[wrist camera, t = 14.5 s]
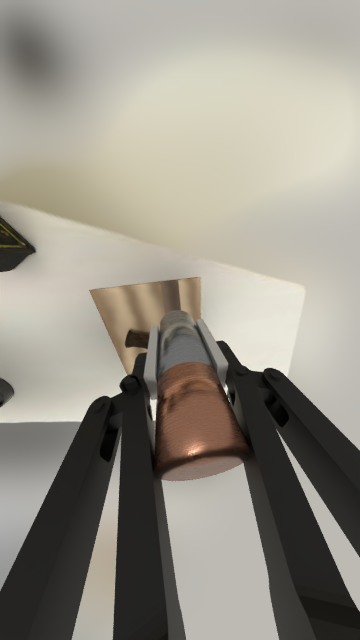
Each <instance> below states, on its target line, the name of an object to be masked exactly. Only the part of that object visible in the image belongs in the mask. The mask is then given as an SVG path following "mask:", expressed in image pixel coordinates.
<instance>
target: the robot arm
mask: <svg viewBox="0 0 360 640" xmlns="http://www.w3.org/2000/svg"><path fill="white" fill-rule="evenodd" d="M196 327H197V329H198V331H199V334H200V336H201V338H202V341H203V343H204V345H205V347H206V350H207V352H208V354H209V357H210V359H211V361H212V363H213V366H214V368H215V370H216V372H217V375H218V377H219V379H220V382H221V384H222V386H223V387H225V384H226V385H227V387H228V392H227V398H229V400H230V404H231V407H232V409H233V411H234V414H235V416H236V418H237V420H238V423H239V425H240V427H241V430H242V432H243V434H244V436H245V439H246V441H247V443H248V446H249V448H250V450H251V451H250V453H249V455H248V457H247V459H246V461H245V462H243V463H244V467H245V471H246V476H247V480H248V485H249V489H250V494H251V498H252V503H253V507H254V512H255V516H256V521H257V525H258V530H259V534H260V538H261V543H262V547H263V552H264V556H265V561H266V565H267V570H268V575H269V589H270V596H271V602H272V607H273V612H274V617H275V622H276V626H277V631H278V636H279V640H360V611H359V610H358V609H357V607H356V605H355V603H354V602H353V600H352V598H351V597H350V594H349V592H348V590H347V588H346V586H345V584H344V582H343V579H342V577H341V575H340V572H339V570H338V568H337V566H336V563H335V561H334V559H333V557H332V554H331V552H330V550H329V548H328V545H327V543H326V541H325V539H324V537H323V534H322V532H321V530H320V527H319V525H318V523H317V520H316V518H315V516H314V514H313V511H312V509H311V507H310V505H309V503H308V500H307V498H306V496H305V493H304V491H303V489H302V487H301V484H300V482H299V480H298V478H297V475H296V473H295V471H294V469H293V466H292V464H291V462H290V460H289V457H288V455H287V453H286V451H285V448H284V446H283V444H282V442H281V439H280V437H279V435H278V433H277V431H278V432H279V434H280V435H281V437H282V438H283V440H284V441H285V443H286V444H287V446H288V447H289V449H290V450H291V452H292V454H293V455H294V457H295V458H296V460H297V461H298V463H299V464H300V466H301V468H302V469H303V471H304V472H305V474H306V475H307V477H308V478H309V480H310V481H311V483H312V485H313V486H314V488H315V489H316V491H317V492H318V494H319V495H320V497H321V498H322V500H323V501H324V503H325V504H326V506H327V508H328V509H329V511H330V512H331V514H332V515H333V517H334V518H335V520H336V521H337V523H338V524H339V526H340V528H341V529H342V531H343V532H344V534H345V535H346V537H347V538H348V540H349V541H350V543H351V544H352V546H353V548H354V549H355V551H356V552H357V554H358V555H359V557H360V451H359V450H358V449H357V448H356V446H355V445H354V444H352V442H350V440H348V438H346V437H345V435H344V434H343V433H342V432H340V430H339V429H338V428H337V427H336V426H335V425H334V424H333V423H332V422H331V421H330V420H329V419H328V418H327V417H326V416H325V415H324V414H323V413H322V412H321V411H320V410H319V409H318V408H317V407H316V406H315V405H313V403H312V402H311V401H310V400H309V399H308V398H307V397H306V396H305V395H303V393H302V392H301V391H300V390H299V389H298V388H297V387H296V386H295V385H294V384H293V383H292V382H291V381H290V380H289V379H288V378H287V377H286V376H285V375H284V374H283V373H282V372H280V371H278V370H276V369H273V368H267V369H265V370H264V371H263V372H257V371H251V370H249V369H248V368H247V367H245V366H243V365H241V363H240V362H239V361H238V359H237V358H236V356H235V355H234V353H233V352H232V350H231V349H230V347H229V346H228V344H227V343H225V342H224V341H215V339H214V338H213V336H212V334H211V333H210V331H209V329H208V327H207V326H206V324H205V322H204V320H203V319H198V320H196ZM158 355H159V328H158V325H155V326H151V330H150V337H149V344H148V350H147V352H145V353H139V354H138V356H137V357H136V359H135V364H134V368H133V371H132V374H130V375H128V376H126V377H125V378H124V379H123V380H122V381H121V382H120V388H121V390H122V393H120V394H118V395H116V396H114V397H112V398H110V397H108V396H102V397H99V398H98V399H96V400H95V401H94V402H93V403H92V404H91V405H90V407H89V408H88V411H87V413H86V415H85V417H84V419H83V421H82V423H81V425H80V427H79V429H78V431H77V433H76V435H75V438H74V440H73V442H72V444H71V446H70V448H69V450H68V452H67V454H66V456H65V458H64V460H63V462H62V465H61V466H60V469H59V471H58V473H57V475H56V477H55V479H54V481H53V483H52V485H51V487H50V489H49V491H48V494H47V495H46V498H45V500H44V502H43V504H42V506H41V508H40V510H39V512H38V514H37V516H36V518H35V520H34V522H33V525H32V527H31V529H30V531H29V533H28V535H27V537H26V539H25V541H24V543H23V545H22V547H21V549H20V551H19V553H18V556H17V558H16V560H15V562H14V564H13V566H12V568H11V570H10V572H9V575H8V576H7V578H6V580H5V583H4V585H3V587H2V589H1V591H0V640H71V639H72V635H73V631H74V627H75V623H76V618H77V614H78V610H79V606H80V601H81V598H82V594H83V589H84V585H85V581H86V577H87V573H88V569H89V564H90V560H91V556H92V552H93V547H94V544H95V539H96V535H97V531H98V527H99V523H100V519H101V514H102V510H103V506H104V502H105V498H106V494H107V490H108V485H109V481H110V477H111V473H112V468H113V465H114V460H115V456H116V452H117V448H118V444H119V440H120V435H121V431H122V438H121V461H120V486H119V509H118V533H117V556H116V580H115V604H114V627H113V640H186V637H185V631H184V624H183V619H182V613H181V609H180V605H179V600H178V594H177V588H176V580H175V573H174V566H173V559H172V552H171V546H170V538H169V531H168V524H167V518H166V517H167V516H166V509H165V502H164V496H163V488H162V481H161V479H159V477H158V476H157V474H156V473H155V471H154V456H155V432H154V425H153V417H152V410H151V405H150V397H151V400H154V399H157V380H158ZM13 394H14V392H13V389H12V387H11V386H10V385H9V384H8V383H6V382H5V381H3V380H2V379H0V407H2V406H3V405H4V404H5V403H6V402H7V401H9V400H10V399H11V398H12V396H13ZM276 429H277V430H276Z"/></svg>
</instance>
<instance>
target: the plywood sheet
mask: <svg viewBox="0 0 360 640" xmlns="http://www.w3.org/2000/svg"><path fill="white" fill-rule="evenodd" d="M89 291H90V293H91V295H92V297H93V300H94V302H95V304H96V306H97V309H98V311H99V313H100V315H101V317H102V320H103V322H104V324H105V326H106V329H107V331H108V333H109V335H110V337H111V340H112V342H113V344H114V346H115V348H116V351H117V353H118V355H119V357H120V360H121V362H122V364H123V366H124V368H125V371H126V373H127V375H130V374H132V371H133V368H134V364H135V359H136V357H137V356H138V354H139V353H145V352H147V350H148V349H145V348H138V347H130V348H126V347H125V340H126V336H127V333H128V331H129V330H131V331H132V332H133V333H139V334H148V335H150V330H151V326H155V325H158V328H159V329H160V321H161V319H162V318H163V316H164V315H165V314H167V313H168V312H170V311H174V310H182V311H185V312H187V313H189V314H190V315H191V316H192V318H193V320H194V322H195V325H196V320H198V319H201V293H200V277H196V278H188V279H179V280H171V281H162V282H154V283H146V284H137V285H129V286H120V287H112V288H103V289H95V290H89Z"/></svg>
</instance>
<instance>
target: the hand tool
mask: <svg viewBox="0 0 360 640" xmlns="http://www.w3.org/2000/svg"><path fill="white" fill-rule="evenodd" d="M149 337H150V335H148V334H139V333H133V332H132V331H131V330H129V331H128V333H127V336H126V340H125V347H126V348H130V347H138V348H145V349H148V344H149Z"/></svg>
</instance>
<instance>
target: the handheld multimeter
mask: <svg viewBox="0 0 360 640" xmlns="http://www.w3.org/2000/svg"><path fill="white" fill-rule="evenodd" d="M34 252H35V250H34V249H33V247H32V246H31V245H30V244H29V243H28V242H27V241H26V240H25V239H23V238H22V237H21V236H20V235H19V234H18V233H17V232H16V231H15V230H14V229H13V228H11V227H10V226H9V225H8V224H7V223H6V222H5V221H4V220H3V219H2V218H0V272H4V271H10V270H12V269H13V268H14V267H15V266H16V265H17V264H18V263H19V262H20V261H21V260H22V259H23V258H24V257H26V256H27V255H29V254H33V253H34Z"/></svg>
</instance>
